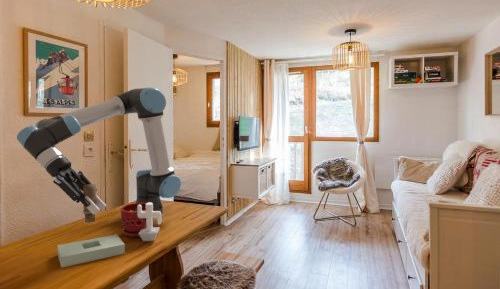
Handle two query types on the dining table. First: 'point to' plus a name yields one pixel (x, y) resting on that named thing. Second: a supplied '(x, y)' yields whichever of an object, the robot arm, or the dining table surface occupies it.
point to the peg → (91, 193)
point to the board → (90, 250)
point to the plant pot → (132, 219)
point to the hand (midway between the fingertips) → (100, 210)
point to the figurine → (149, 222)
